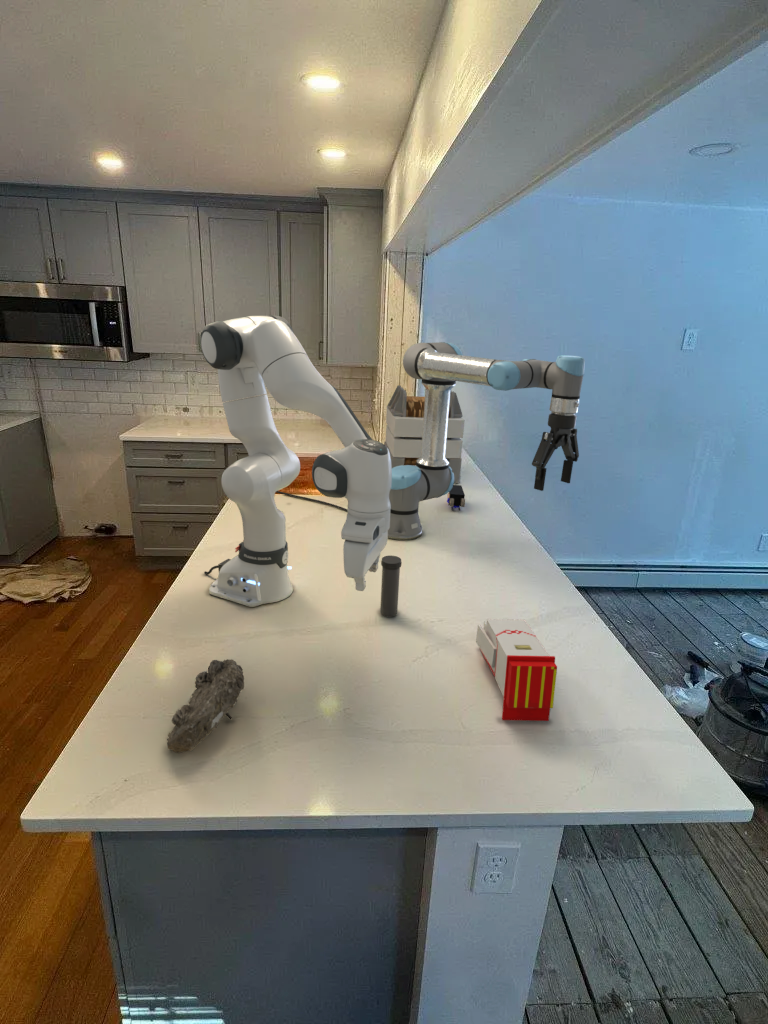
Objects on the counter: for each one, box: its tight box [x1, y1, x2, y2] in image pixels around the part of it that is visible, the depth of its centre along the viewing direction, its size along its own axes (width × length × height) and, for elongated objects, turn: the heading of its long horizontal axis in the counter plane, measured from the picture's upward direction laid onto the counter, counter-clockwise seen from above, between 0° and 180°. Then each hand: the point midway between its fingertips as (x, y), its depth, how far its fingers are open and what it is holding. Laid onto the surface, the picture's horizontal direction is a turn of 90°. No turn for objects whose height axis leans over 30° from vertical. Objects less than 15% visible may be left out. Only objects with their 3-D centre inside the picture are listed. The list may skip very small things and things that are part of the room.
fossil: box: [166, 658, 245, 754], centre depth 106 cm, size 22×10×15 cm
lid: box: [380, 555, 402, 570], centre depth 143 cm, size 5×5×2 cm
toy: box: [475, 618, 558, 722], centre depth 122 cm, size 12×13×30 cm
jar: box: [379, 566, 401, 618], centre depth 145 cm, size 4×4×15 cm
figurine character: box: [446, 484, 466, 511], centre depth 229 cm, size 7×8×15 cm
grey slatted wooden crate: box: [383, 384, 465, 484], centre depth 268 cm, size 34×33×41 cm
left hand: (367, 579), depth 122 cm, fingers open, 8 cm apart
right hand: (552, 485), depth 166 cm, fingers open, 13 cm apart
